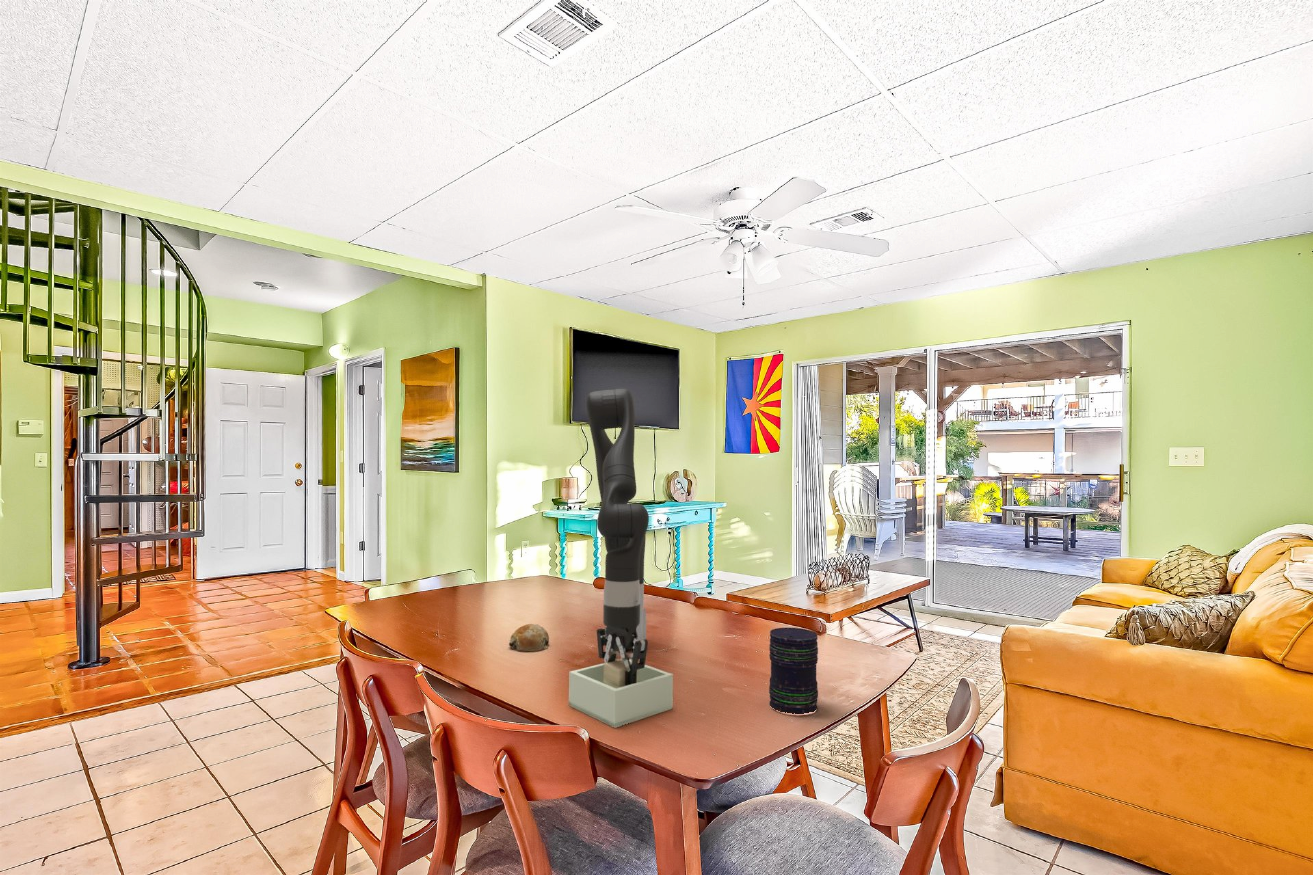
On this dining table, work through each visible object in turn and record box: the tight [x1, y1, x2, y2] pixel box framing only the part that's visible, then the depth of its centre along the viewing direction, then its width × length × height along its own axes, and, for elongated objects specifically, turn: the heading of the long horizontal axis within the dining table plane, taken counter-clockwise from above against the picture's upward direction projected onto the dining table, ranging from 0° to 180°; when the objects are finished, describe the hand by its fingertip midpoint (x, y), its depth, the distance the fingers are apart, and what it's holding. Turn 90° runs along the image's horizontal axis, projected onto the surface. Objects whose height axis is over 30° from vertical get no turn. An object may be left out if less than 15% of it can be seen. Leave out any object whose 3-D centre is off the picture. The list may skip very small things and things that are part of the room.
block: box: [603, 658, 638, 689], centre depth 132 cm, size 5×5×7 cm
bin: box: [568, 658, 674, 729], centre depth 132 cm, size 15×15×7 cm
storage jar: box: [768, 627, 819, 714], centre depth 133 cm, size 10×10×15 cm
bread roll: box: [508, 623, 550, 653], centre depth 174 cm, size 10×10×8 cm
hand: (620, 684), depth 132 cm, fingers open, 5 cm apart
